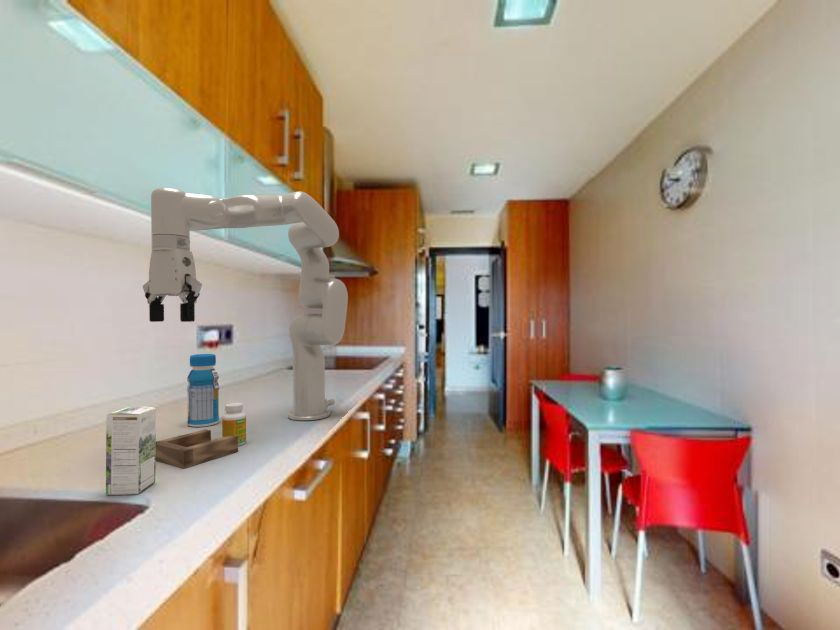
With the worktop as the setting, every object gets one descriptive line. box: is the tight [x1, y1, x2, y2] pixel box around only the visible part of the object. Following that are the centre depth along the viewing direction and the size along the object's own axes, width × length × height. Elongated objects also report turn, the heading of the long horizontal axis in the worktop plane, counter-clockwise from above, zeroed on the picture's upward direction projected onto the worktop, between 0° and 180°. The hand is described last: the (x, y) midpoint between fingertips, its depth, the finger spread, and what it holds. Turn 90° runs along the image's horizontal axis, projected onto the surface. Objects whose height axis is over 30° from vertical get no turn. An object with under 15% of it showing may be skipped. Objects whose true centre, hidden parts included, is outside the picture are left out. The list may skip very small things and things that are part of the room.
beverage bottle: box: [186, 353, 220, 428], centre depth 129 cm, size 8×8×20 cm
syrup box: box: [105, 406, 157, 496], centre depth 81 cm, size 6×6×14 cm
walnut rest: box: [156, 429, 239, 470], centre depth 100 cm, size 13×12×4 cm
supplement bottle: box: [221, 402, 247, 447], centre depth 109 cm, size 5×5×10 cm
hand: (172, 321), depth 100 cm, fingers open, 9 cm apart
